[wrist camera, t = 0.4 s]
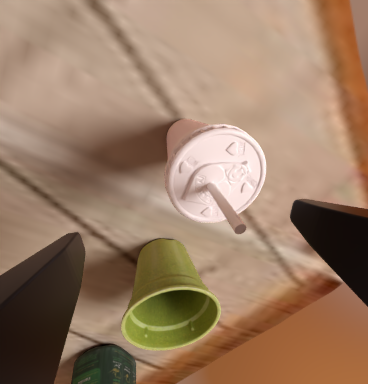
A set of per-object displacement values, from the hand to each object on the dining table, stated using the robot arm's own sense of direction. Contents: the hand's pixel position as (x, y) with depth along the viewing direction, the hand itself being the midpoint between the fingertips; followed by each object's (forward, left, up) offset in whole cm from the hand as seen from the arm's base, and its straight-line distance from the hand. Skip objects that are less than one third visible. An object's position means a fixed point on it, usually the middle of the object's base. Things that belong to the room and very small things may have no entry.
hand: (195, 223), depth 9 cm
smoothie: (+1, +2, -14) cm, 14 cm away
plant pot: (+15, -4, -14) cm, 21 cm away
